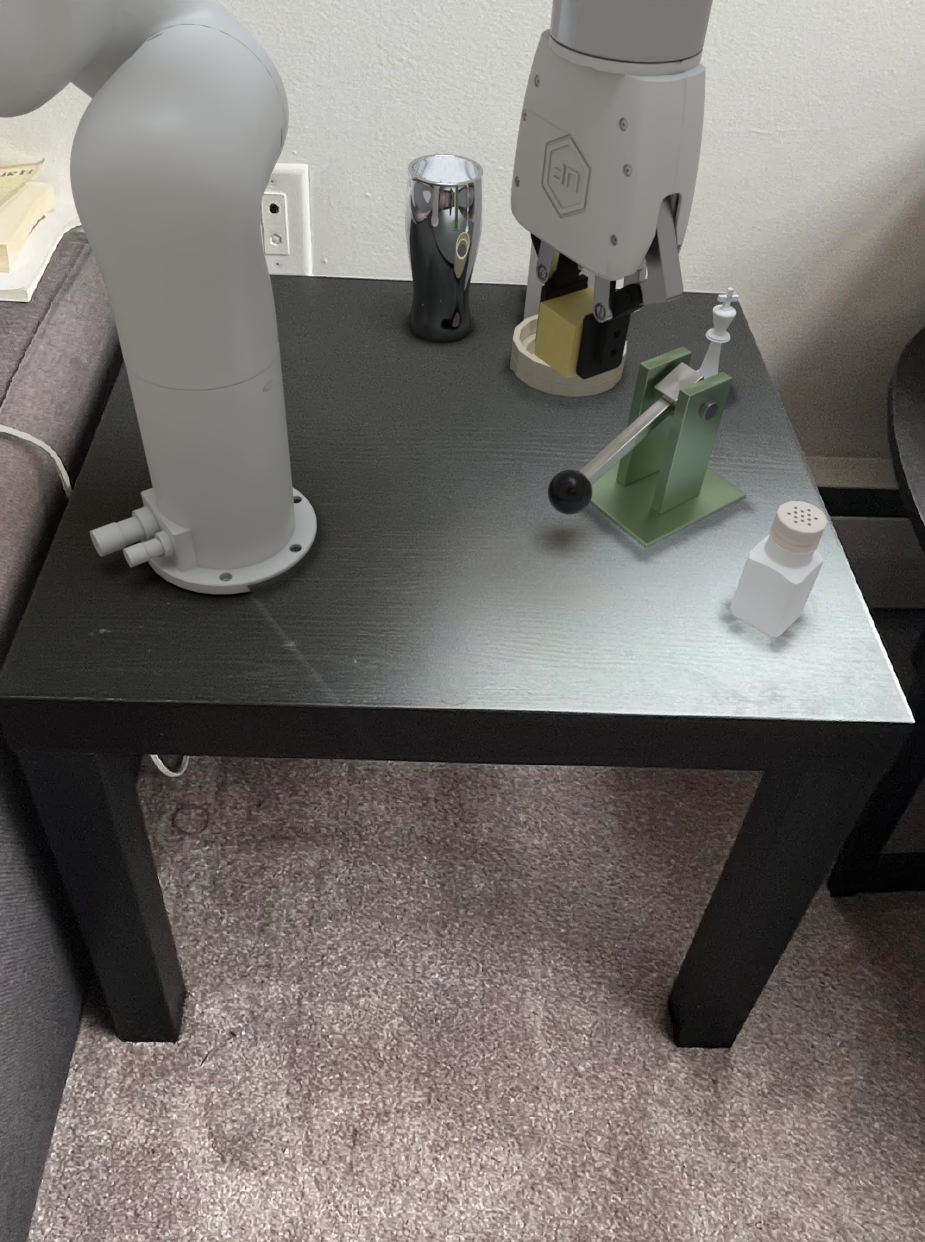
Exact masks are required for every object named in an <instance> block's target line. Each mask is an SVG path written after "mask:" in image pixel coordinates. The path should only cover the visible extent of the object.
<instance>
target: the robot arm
mask: <svg viewBox="0 0 925 1242" xmlns="http://www.w3.org/2000/svg"><path fill="white" fill-rule="evenodd" d="M713 1H714V0H552V4H551V6H552V7H551V15H550V16H551V17H550V26H549V28H547V29H545V30H543V32H542V33H541V34H540V38H539V40H538V44H537V46H536V50H535V53H534V57H533V61H532V64H531V68H530V71H529V75H528V80H527V85H526V89H525V93H524V98H523V102H522V103H523V104H522V108H521V113H520V120H519V125H518V126H519V127H518V131H517V132H518V133H517V139H516V144H515V145H516V146H515V153H514V161H513V170H512V179H511V188H510V189H511V190H510V210H511V214H512V215H513V217H514V219H515V220H516V222H517V223H518V224H519V225H520V226H521V227H522V228H523V229H524V230H526V232H529V233H530V240H531V244H532V243H533V246H534V248H535V251H536V254H537V256H538V260H537V265H536V275H537V278H538V280H539V281H540V282H541V283H544V286H542V288H541V297H540V303H541V302H544V301H547V300H550V299H554V298H557V297H560V296H563V295H567V294H570V293H573V292H577V291H580V290H583V289H586V288H588V277H587V276H586V275H584V274H581V275H579V273H580V272H581V271H582V270H583V267H584V268H585V269H587V270H588V271H590V272H592V273H593V274H595V285H594V299H593V313H591V314H588V315H586V316H585V317H584V319H583V330H582V336H581V343H580V349H579V356H578V362H577V369H576V374H577V375H578V376H579V377H581V378H582V379H588V378H590V377H593V376H596V375H599V374H602V373H604V372H607V371H610V370H613V369H616V368H618V367H619V366H620V364H621V362H622V358H623V353H624V347H625V342H626V341H627V338H628V337H627V336H628V330H629V326H630V320H631V315H632V314H634V313H636V312H639V311H640V310H642V308H643V307H645V306H652V305H661V304H665V303H667V302H671V301H674V300H677V299H680V298H682V296H683V293H684V283H683V276H682V270H681V262H680V252H681V251H682V247H683V244H684V241H685V236H686V233H687V229H688V225H689V222H690V221H689V220H690V216H691V211H692V205H693V201H694V195H695V190H696V184H697V177H698V171H699V164H700V155H701V149H702V148H701V147H702V139H703V138H702V137H703V128H704V118H705V102H706V100H705V99H706V72H707V68H706V66H705V65H703V64H701V60H702V55H703V51H704V46H705V42H706V36H707V31H708V26H709V22H710V17H711V11H712V7H713ZM70 83H71V84H72V85H74V86H75V87H76V88H78V89H79V90H81V91H82V93H84V94H85V95H87V96H88V97H89V98H91V100H90V102H89V103H88V104H87V106H86V107H85V109H84V112H83V114H82V116H81V117H80V119H79V123H78V124H77V127H76V131H75V133H74V136H73V140H72V146H71V150H70V159H69V179H70V188H71V196H72V199H73V202H74V206H75V210H76V213H77V216H78V219H79V222H80V224H81V227H82V230H83V232H84V234H85V237H86V239H87V242H88V244H89V247H90V249H91V252H92V254H93V256H94V259H95V261H96V265H97V266H98V267H97V268H98V269H99V272H100V274H101V277H102V280H103V284H104V287H105V290H106V293H107V297H108V300H109V305H110V307H111V308H110V309H111V311H112V316H113V319H114V323H115V328H116V332H117V336H118V341H119V346H120V349H121V355H122V359H123V361H124V365H125V369H126V373H127V378H128V383H129V387H130V392H131V396H132V400H133V405H134V409H135V410H134V411H135V414H136V418H137V423H138V427H139V432H140V436H141V439H142V440H141V442H142V445H143V450H144V454H145V459H146V464H147V468H148V473H149V477H150V482H151V486H152V487H151V488H148V489H145V490H143V491H141V492H140V496H141V499H142V504H143V506H142V507H139V508H138V509H134V510H132V512H131V517H129V518H125V519H123V520H119V521H118V522H115V521H114V522H111V523H108V524H105V525H102V526H100V527H97V528H94V529H92V530H89V536H90V539H91V542H92V545H93V546H94V549H95V551H96V552H97V554H98V556H100V557H101V558H102V557H106V556H108V555H111V554H114V553H115V552H118V551H119V552H120V551H121V550H122V553H123V556H124V559H125V561H126V564H127V565H128V566H129V568H130V569H131V568H134V567H136V566H140V565H142V564H144V563H148V565H149V566H150V567H151V568H152V569H153V571H154V572H155V573H156V574H157V575H158V576H160V577H161V578H162V579H164V580H165V581H167V582H168V583H170V584H172V585H174V586H177V587H179V588H181V589H184V590H188V591H192V592H195V593H202V594H208V595H209V594H210V595H235V594H243V593H249V592H251V591H252V590H251V589H250V587H248V586H251V585H256V584H260V583H262V582H266V581H268V580H270V579H274V578H275V577H278V576H279V575H282V574H283V573H285V572H287V571H288V570H290V569H291V568H293V567H294V566H295V565H296V564H298V563H299V562H300V561H301V560H302V559H303V558H304V557H305V556H306V555H307V553H309V551H310V549H311V547H312V545H313V544H314V542H315V540H316V536H317V532H318V525H317V524H318V522H317V521H318V519H317V516H316V513H315V509H314V507H313V506H312V504H311V503H310V501H309V500H308V498H307V497H306V496H305V495H303V493H302V492H300V491H299V490H298V489H296V488H295V487H294V486H293V479H292V477H293V476H292V468H291V457H290V447H289V446H290V445H289V444H290V443H289V436H288V435H289V433H288V424H287V414H286V413H287V412H286V402H285V392H284V381H283V380H284V379H283V370H282V358H281V348H280V342H279V332H278V331H279V330H278V321H277V312H276V305H275V304H276V303H275V297H274V291H273V290H274V289H273V284H272V280H271V276H270V271H269V267H268V262H267V258H266V255H265V251H264V245H263V244H264V243H263V239H262V229H261V228H262V227H261V210H262V209H261V208H262V202H263V197H264V194H265V192H266V189H267V188H268V186H269V183H270V180H271V177H272V173H273V172H274V169H275V167H276V165H277V163H278V161H279V158H280V156H281V154H282V151H283V148H284V146H285V143H286V139H287V136H288V129H289V120H290V119H289V117H290V114H289V112H290V111H289V102H288V96H287V92H286V87H285V85H284V83H283V80H282V77H281V74H280V72H279V71H278V68H277V67H276V64H275V63H274V61H273V59H272V58H271V57H270V55H269V54H268V52H267V51H266V50H265V49H264V47H263V46H262V45H261V43H260V42H259V41H258V40H257V39H256V38H255V37H254V35H253V34H251V32H250V31H249V30H248V29H247V28H246V27H245V26H243V24H242V23H240V21H238V20H237V19H236V18H235V17H234V16H233V15H232V14H230V12H229V11H227V10H226V9H225V8H224V7H223V6H222V5H221V4H220V3H219V2H217V1H216V0H0V118H4V119H5V118H16V117H21V116H23V115H27V114H30V113H33V112H34V111H36V110H38V109H40V108H42V107H43V106H44V105H45V104H47V103H48V102H49V101H51V100H52V99H53V98H54V97H56V96H57V95H59V93H61V92H62V91H63V90H64V89H65V88H66V87H67V86H68V85H69V84H70ZM622 279H623V284H622V287H621V288H620V289H618V290H617V281H620V280H622ZM539 310H540V305H539ZM538 319H539V314H538ZM537 327H538V322H537ZM536 336H537V331H536ZM535 343H536V339H535ZM295 500H299V501H300V502H296V503H295ZM135 543H136V544H135ZM295 548H299V549H300V550H298V551H292V549H295Z"/></svg>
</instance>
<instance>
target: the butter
mask: <svg viewBox="0 0 925 1242" xmlns="http://www.w3.org/2000/svg"><path fill="white" fill-rule="evenodd" d="M593 299H594V286H593V287H590V288H586V289H583V290H580V291H577V292H573V293H570V294H567V295H563V296H560V297H557V298H554V299H550V300H547V301H544V302H541V303H540V310H539V319H538V327H537V336H536V344H535V353H534V354H535V355H536V356H537V357H538V358H540V359H541V360H542V361H544V362H545V363H546V364H548V365H549V366H550V367H552V368H553V369H554V370H556V371H557V372H558V373H560V374H561V375H562V376H563V377H565V378H570V377H572V376H575V375H577V374H576V369H577V362H578V356H579V349H580V343H581V336H582V330H583V319H584V317H585V316H586V315H588V314H591V313H593Z"/></svg>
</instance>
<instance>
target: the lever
mask: <svg viewBox="0 0 925 1242" xmlns="http://www.w3.org/2000/svg"><path fill="white" fill-rule="evenodd" d="M701 380H704V376H703V375H702V374H700V373H698V372H697V371H696V370H695V369H694V368H692V367H691V366H690V365H689V366H688V365H686V364H684V363H683V362H681V363H680V364H679V365H678V366H677V367H676V368H675V369H673V370H672V371H671V372H670V373H669V374H668V375H667V376H666V377H665V378H663V379H662V380H661V381H660V382H659V383H658V384H657V385H656V386H655V387H654V389H655V393H656V397H657V401H656V402H655V403H654V404H653V405H652V406H650V407H649V408H648V409H647V410H646V411H645V412H644V413H643V414H642V415H640V416H639V417H638V418H637V419H636V420H635V421H634V422H633V423H632V424H630V425H629V426H628V427H627V426H626V428H625V429H623V430H622V431H621V432H620V433H619V434H618V435H617V436H616V437H615V438H614V439H612V441H610V442H609V443H608V444H607V445H606V446H605V447H604V448H602V450H601V451H599V452H598V453H597V454H596V455H595V456H594V457H593V458H592V459H590V461H588V462H586V464H585V465H584V466H582V468H581V469H579V470H576V469H565V470H562V471H559V472H558V473H556V474H555V475H554V476H553V477H552V478H551V479H550V481H549V483H548V486H547V498H548V501H549V504H550V505H551V507H552V508H553V509H554V510H556V511H557V512H558V513H561V514H563V515H567V516H571V515H577V514H580V513H582V512H583V511H584V510H586V508H587V507H588V506H589V505H590V504H591V503H590V501H591V498H592V485H593V484H594V483H595V482H596V481H597V480H598V479H600V478H601V477H602V476H603V475H604V474H605V473H606V472H607V471H608V470H609V469H611V468H612V467H613V466H614V465H615V464H616V463H617V462H618V461H619V460H621V459H622V458H623V457H624V456H625V455H626V454H627V453H628V452H629V451H630V450H632V449H633V448H634V447H635V446H636V445H637V444H638V443H639V442H640V441H642V440H643V439H644V438H645V437H646V436H647V435H648V434H649V433H650V432H651V431H653V430H654V429H655V428H656V427H657V426H658V425H659V424H660V423H661V422H662V421H664V420H665V419H666V418H667V417H668V416H669V415H671V416H672V417H673V415H674V411H675V407H676V403H677V399H678V395H679V391H680V389H682V388H684V387H687V386H689V385H692V384H694V383H696V382H699V381H701Z"/></svg>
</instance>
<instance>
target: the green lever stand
mask: <svg viewBox="0 0 925 1242" xmlns="http://www.w3.org/2000/svg"><path fill="white" fill-rule="evenodd" d="M692 355H693V352H692V351H691V350H690V349H688V348H686V347H685V346H680V347H678V348H675V349H672V350H670V351H667V352H665V353H662V354H660V355H657V356H655V357H652V358H649V359H647V360H645V361H644V360H643V361H642V362H640V363H639V367H638V372H637V375H636V376H637V378H636V381H635V387H634V391H633V395H632V402H631V406H630V411H629V415H628V419H627V424H626V428H627V427H628V426H629V425H630V424H632V423H633V422H634V421H635V420H636V419H637V418H638V417H639V416H640V415H642V414H643V413H644V412H645V411H646V410H647V409H648V408H649V407H650V406H652V405H653V404H654V403H655V402H656V401H657V397H656V393H655V389H654V387H655V386H656V385H657V384H658V383H659V382H660V381H661V380H662V379H663V378H665V377H666V376H667V375H668V374H669V373H670V372H671V371H672V370H673V369H675V368H676V367H677V366H678V365H679V364H680V363H681V362H683V363H684V364H686V365H688V366H689V367H690V362H691V358H692ZM732 382H733V377H732V376H730V375H729V374H728V373H726V372H725V371H721V372H718V374H716V375H713V376H711V377H709V378H706V379H704V380H701V381H699V382H696V383H694V384H692V385H689V386H687V387H684V388H682V389H680V391H679V395H678V399H677V403H676V407H675V411H674V415H673V417H672V416H671V415H669V416H668V417H667V418H666V419H665V420H664V421H662V422H661V423H660V424H659V425H658V426H657V427H656V428H655V429H654V430H653V431H651V432H650V433H649V434H648V435H647V436H646V437H645V438H644V439H643V440H642V441H640V442H639V443H638V444H637V445H636V446H635V447H634V448H633V449H632V450H630V451H629V452H628V453H627V454H626V455H625V456H624V457H623V458H622V459H621V460H619V461H618V462H617V463H616V464H615V465H614V466H613V467H612V468H611V469H609V470H608V471H607V472H606V473H605V474H604V475H603V476H602V477H601V478H600V479H598V480H597V481H596V482H595V483H594V484H593V485H592V498H591V501H590V503H589V504H590V505H592V506H593V507H594V508H595V509H597V510H598V511H599V512H600V513H602V514H603V515H604V516H605V517H606V518H608V519H609V520H610V521H612V522H613V523H614V524H615V525H617V527H619V528H620V529H621V530H623V531H624V532H625V533H626V534H627V535H629V536H630V537H631V538H633V539H634V540H635V541H636V542H638V543H639V544H640V545H641V546H642V547H644V548H646V549H647V548H649V547H651V546H653V545H655V544H657V543H659V542H661V541H663V540H664V539H667V538H670V537H672V536H673V535H675V534H677V533H679V532H681V531H683V530H685V529H687V528H689V527H690V526H692V525H695V524H697V523H699V522H700V521H702V520H704V519H706V518H708V517H710V516H712V515H714V514H716V513H719V512H720V511H722V510H724V509H726V508H728V507H731V506H732V505H734V504H736V503H738V502H740V501H742V500H744V499H746V497H747V494H746V493H745V492H744V491H742V490H741V489H739V488H737V487H736V486H735V485H733V484H732V483H731V482H729V481H728V480H726V479H725V478H724V477H722V476H721V475H719V474H718V473H717V472H716V471H714V470H713V469H711V468H709V467H708V466H709V463H710V460H711V459H710V458H711V455H712V452H713V448H714V445H715V441H716V438H717V434H718V431H719V428H720V423H721V420H722V417H723V413H724V410H725V407H726V403H727V399H728V396H729V392H730V389H731V385H732Z"/></svg>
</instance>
